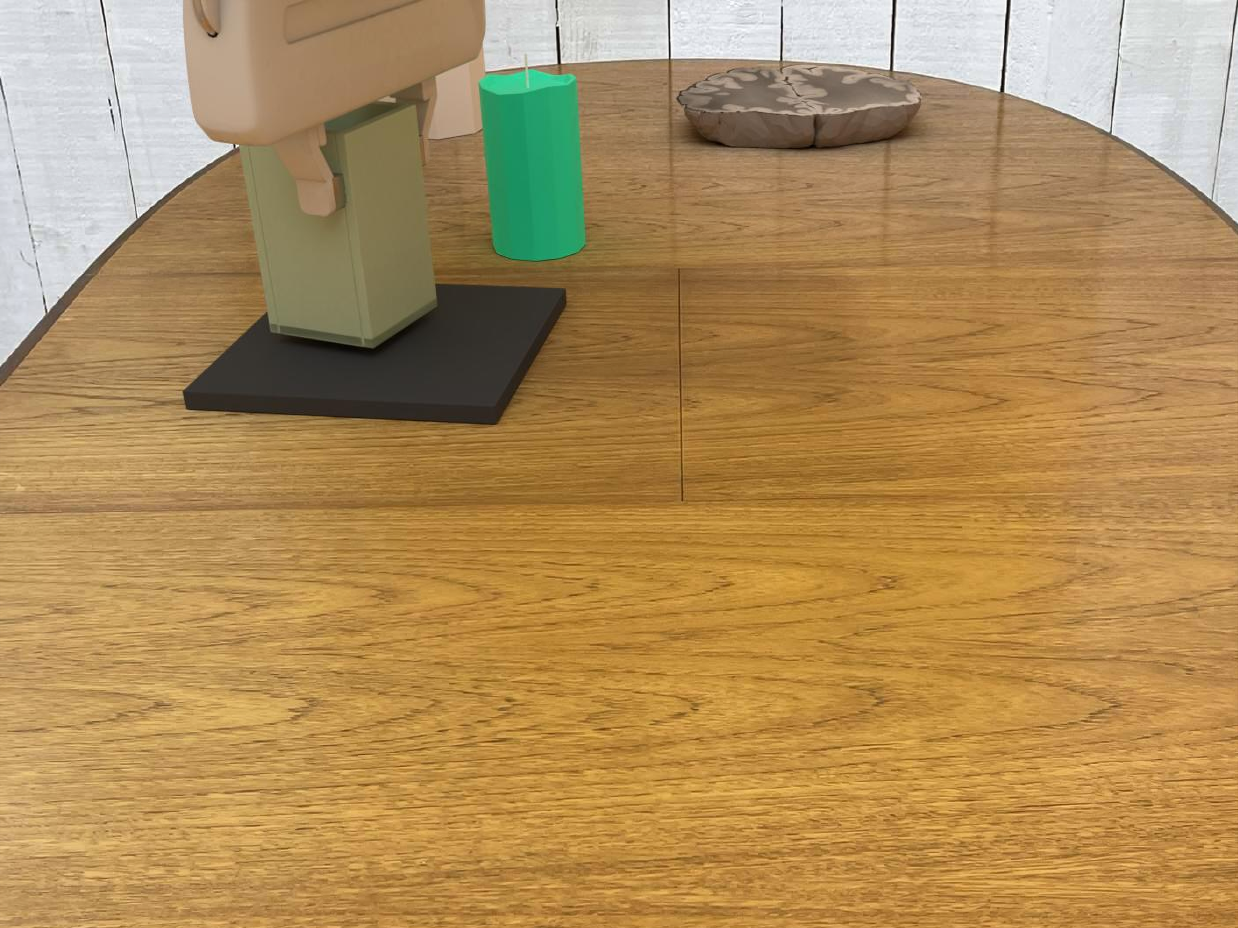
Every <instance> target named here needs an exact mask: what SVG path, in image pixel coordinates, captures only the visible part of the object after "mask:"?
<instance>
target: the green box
mask: <svg viewBox="0 0 1238 928" xmlns="http://www.w3.org/2000/svg"><path fill="white" fill-rule="evenodd" d="M324 126H325V133H326V141H327V142H326V145H324V146H322V147H320V146H319V147H320V150H321V152H322V154H323V156H324V158H325V160H326V162H327V164H328V166H329V168H330V170H331V172H332V173H341V174H343V178H344V185H345V190H344V193H345V194H346V201H347V203H346V205H345V207H343V208H342V209H340V210H338V211H336V212H334V213H332V214H331V215H329V216H326V217H322V216H314V215H307V214H306V213H304V212H303V211H302V209H301V207H300V204H299V198H298V192H297V186H296V180H295V178H293V177H292V175H291V174H290V172H289V171H288V170H287V168H286V167H285V165H284V164H283V162H282V161H281V159H280V158H279V157H278V155H277V154H276V152H275V151H274V149H273V146H272V145H270V146H265V147H258V146H246V145H238V149H239V155H240V160H241V166H242V171H243V176H244V177H243V178H244V183H245V189H246V190H245V191H246V194H247V195H246V196H247V201H248V208H249V213H250V218H251V219H250V220H251V224H252V230H253V237H254V242H255V249H256V254H257V260H258V265H259V271H260V272H259V273H260V277H261V281H262V282H261V283H262V288H263V295H264V299H265V300H264V301H265V306H266V312H267V313H268V318H269V324H270V330H271V332H273V333H280V334H286V335H292V336H298V337H304V338H311V339H317V340H323V341H329V342H336V343H342V344H348V345H354V346H361V347H368V348H375V347H376V346H378V345H379V344H381V343H382V342H384V341H385V340H387V339H388V338H390V337H391V336H393V335H394V334H396V333H398V332H399V331H401V330H402V329H404V328H405V327H407V326H408V325H410V324H411V323H413V322H414V321H416V320H417V319H419V318H420V317H422V316H423V315H425V314H426V313H428V312H429V311H431V310H432V309H434V308H435V307H437V297H436V288H435V283H436V281H435V270H434V261H433V251H432V242H431V233H430V225H429V215H428V214H429V213H428V206H427V197H426V187H425V178H424V167H422V159H421V149H420V140H419V131H418V122H417V112H416V105H415V104H405V103H395V102H384V101H375V102H373V103H370V104H368V105H366V106H363V107H361V108H358V109H356V110H354V111H351V112H349V113H347V114H344V115H342V116H339V117H337V118H335V119H332V120H330V121H328V122H325V123H324Z"/></svg>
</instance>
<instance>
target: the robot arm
mask: <svg viewBox="0 0 1238 928" xmlns="http://www.w3.org/2000/svg"><path fill="white" fill-rule="evenodd" d="M486 14H487V13H486V0H182V27H183V41H184V52H185V53H184V54H185V63H186V72H187V80H188V90H189V96H190V103H191V110H192V114H193V118H194V120H195V122H196V124H197V125H198V126H199V128H200V129H201V130H202V132H203V133H204V134H205V135H206V136H207V137H208V139H210V140H211V141H213V142H215V143H222V144H229V145H238V146H239V145H246V146H258V147H265V146H270V145H272V146H273V149H274V151H275V152H276V154H277V155H278V157H279V158H280V159H281V161H282V162H283V164H284V165H285V167H286V168H287V170H288V171H289V172H290V174H291V175H292V177H293V178H295V180H296V186H297V192H298V198H299V204H300V207H301V209H302V211H303V212H304V213H306V214H307V215H314V216H322V217H326V216H329V215H331V214H332V213H334V212H336V211H338V210H340V209H342V208H343V207H345V205H346V203H347V201H346V194H345V193H344V190H345V185H344V178H343V174H341V173H332V172H331V170H330V168H329V166H328V164H327V162H326V160H325V158H324V156H323V154H322V152H321V150H320V147H322V146H324V145H326V142H327V141H326V133H325V126H324V123H325V122H328V121H330V120H332V119H335V118H337V117H339V116H342V115H344V114H347V113H349V112H351V111H354V110H356V109H358V108H361V107H363V106H366V105H368V104H370V103H373V102H375V101H378V100H380V99H382V98H385V97H387V96H390V98H396V99H395V103H405V104H415V105H416V112H417V122H418V131H419V140H420V149H421V159H422V168H424V167H426V166H428V165H430V162H431V153H430V142H429V139H428V132H429V130H430V125H431V121H432V117H433V113H434V108H435V104H436V100H437V87H436V77H435V76H437V75H439V74H442V73H444V72H446V71H449V70H451V69H454V68H456V67H458V66H461V65H463V64H466V63H468V62H470V61H473V60H475V59H477V57H478V56H479V53H480V50H481V47H482V44H483V45H484V39H485V36H486V29H487V18H486V17H487V16H486ZM319 146H320V147H319Z"/></svg>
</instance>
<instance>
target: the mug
mask: <svg viewBox="0 0 1238 928" xmlns="http://www.w3.org/2000/svg"><path fill="white" fill-rule="evenodd" d="M486 75H487V74H486V63H485V51H484V43H483V44H482V47H481V50H480V53H479V56H478V57H477V59H475V60H473V61H470V62H468V63H466V64H463V65H461V66H458V67H456V68H454V69H451V70H449V71H446V72H444V73H442V74H439V75H437V76H435V77H436V87H437V100H436V104H435V108H434V113H433V117H432V121H431V125H430V130H429V132H428V140H436V141H437V140H438V141H439V140H443V139H450V138H456V137H461V136H468V135H474V134H476V133H478V132H479V131H481V130H483V128H482V117H481V106H480V95H479V84H478V82H479V81H480V80H481V79H483V78H484V77H485V76H486Z"/></svg>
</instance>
